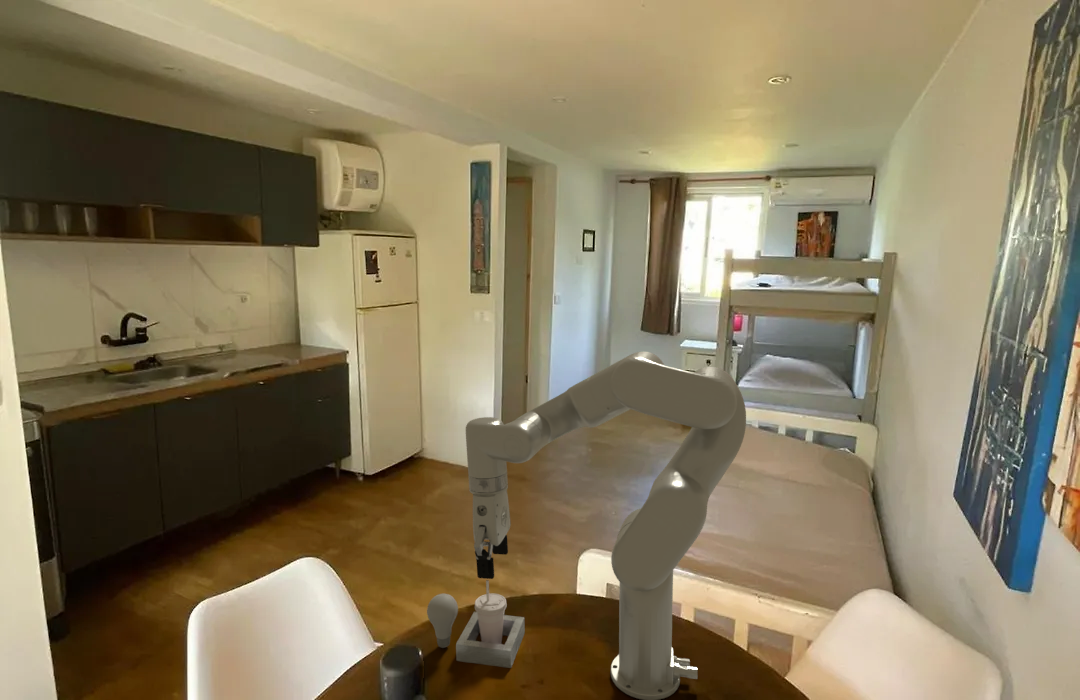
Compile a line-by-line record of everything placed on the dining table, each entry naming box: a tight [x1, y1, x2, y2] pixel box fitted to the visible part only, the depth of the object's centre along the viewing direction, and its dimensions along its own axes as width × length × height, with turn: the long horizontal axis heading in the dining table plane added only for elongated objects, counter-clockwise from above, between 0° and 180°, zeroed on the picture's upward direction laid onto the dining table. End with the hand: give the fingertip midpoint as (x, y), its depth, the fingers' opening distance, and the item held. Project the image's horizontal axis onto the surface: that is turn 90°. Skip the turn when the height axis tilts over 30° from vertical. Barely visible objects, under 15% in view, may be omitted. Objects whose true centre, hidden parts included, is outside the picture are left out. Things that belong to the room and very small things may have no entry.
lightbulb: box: [426, 593, 459, 649], centre depth 112 cm, size 6×6×11 cm
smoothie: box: [474, 579, 508, 644], centre depth 112 cm, size 6×6×14 cm
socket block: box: [455, 611, 526, 669], centre depth 113 cm, size 11×11×4 cm
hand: (493, 565), depth 111 cm, fingers open, 9 cm apart
